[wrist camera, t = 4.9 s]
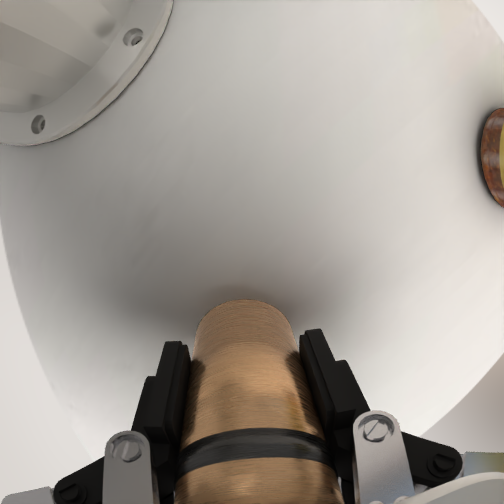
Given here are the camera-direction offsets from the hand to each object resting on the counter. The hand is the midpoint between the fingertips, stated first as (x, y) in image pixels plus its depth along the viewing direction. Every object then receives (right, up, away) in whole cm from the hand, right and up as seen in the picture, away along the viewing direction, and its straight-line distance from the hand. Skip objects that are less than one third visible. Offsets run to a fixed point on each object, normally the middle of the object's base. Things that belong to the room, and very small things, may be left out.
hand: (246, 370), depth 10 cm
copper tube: (0, +1, +2) cm, 2 cm away
